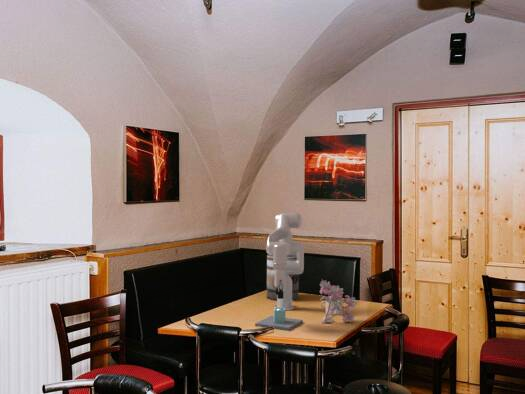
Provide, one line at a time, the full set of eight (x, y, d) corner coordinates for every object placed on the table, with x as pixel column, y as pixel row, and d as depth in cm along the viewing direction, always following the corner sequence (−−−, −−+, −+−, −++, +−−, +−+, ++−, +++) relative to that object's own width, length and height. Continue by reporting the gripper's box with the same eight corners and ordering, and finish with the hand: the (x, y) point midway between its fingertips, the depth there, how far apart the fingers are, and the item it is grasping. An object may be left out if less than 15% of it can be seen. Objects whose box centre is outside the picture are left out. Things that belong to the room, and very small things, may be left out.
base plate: (271, 318, 298) (271, 315, 298) (302, 322, 289) (302, 319, 289) (255, 326, 280) (255, 323, 280) (288, 330, 271) (288, 327, 271)
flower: (344, 327, 272) (357, 283, 280) (307, 317, 284) (320, 275, 292) (355, 336, 288) (367, 294, 296) (319, 326, 300) (331, 286, 308)
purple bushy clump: (340, 312, 316) (340, 293, 316) (339, 315, 307) (340, 296, 307) (321, 311, 319) (321, 292, 318) (319, 314, 310) (320, 295, 310)
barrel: (300, 301, 347) (300, 257, 347) (267, 301, 347) (267, 257, 347) (297, 294, 370) (297, 253, 369) (266, 294, 369) (266, 253, 369)
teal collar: (273, 320, 287) (273, 307, 287) (284, 320, 288) (284, 307, 288) (274, 322, 281) (274, 310, 281) (285, 322, 282) (285, 310, 282)
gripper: (272, 263, 293) (271, 293, 293) (274, 268, 276) (274, 300, 276) (285, 263, 293) (284, 293, 294) (288, 268, 276) (288, 300, 276)
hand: (279, 296), depth 285 cm, fingers open, 9 cm apart
